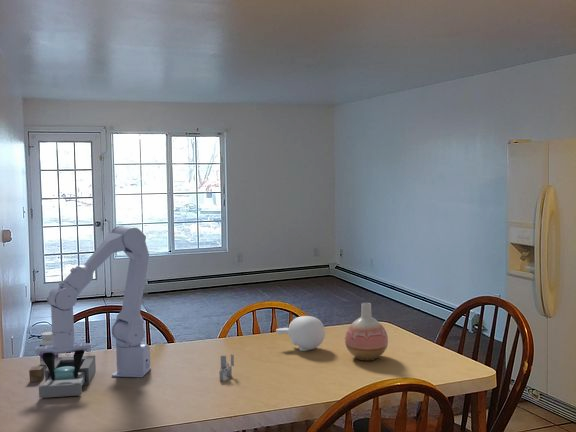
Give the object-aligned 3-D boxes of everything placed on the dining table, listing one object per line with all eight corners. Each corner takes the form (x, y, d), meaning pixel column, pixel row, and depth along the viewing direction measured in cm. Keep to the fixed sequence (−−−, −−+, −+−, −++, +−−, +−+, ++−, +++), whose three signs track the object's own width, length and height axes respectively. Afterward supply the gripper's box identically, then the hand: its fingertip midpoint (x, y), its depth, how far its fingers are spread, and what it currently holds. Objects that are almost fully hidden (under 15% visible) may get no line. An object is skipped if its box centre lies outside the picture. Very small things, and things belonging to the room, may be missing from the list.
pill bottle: (52, 366, 191) (50, 335, 190) (36, 365, 192) (35, 335, 191) (62, 361, 196) (60, 331, 196) (46, 360, 197) (45, 330, 197)
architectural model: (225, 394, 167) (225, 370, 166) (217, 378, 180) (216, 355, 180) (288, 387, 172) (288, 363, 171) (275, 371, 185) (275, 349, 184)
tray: (88, 380, 177) (88, 369, 177) (81, 395, 165) (80, 384, 165) (49, 382, 175) (49, 372, 175) (39, 397, 164) (38, 386, 163)
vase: (339, 361, 192) (339, 306, 191) (351, 349, 205) (351, 297, 203) (382, 366, 187) (382, 310, 185) (392, 353, 200) (392, 300, 198)
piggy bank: (329, 355, 204) (296, 349, 215) (333, 319, 206) (301, 315, 217) (304, 352, 196) (271, 346, 206) (309, 315, 198) (277, 311, 209)
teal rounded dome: (71, 379, 168) (71, 372, 168) (50, 379, 168) (50, 372, 168) (78, 372, 173) (78, 366, 173) (58, 372, 174) (58, 366, 173)
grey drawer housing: (95, 370, 186) (95, 355, 186) (89, 384, 174) (88, 368, 174) (55, 373, 184) (54, 357, 184) (45, 387, 173) (45, 370, 172)
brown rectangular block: (44, 377, 181) (43, 366, 180) (41, 381, 178) (40, 369, 177) (32, 378, 180) (32, 366, 180) (29, 382, 177) (29, 370, 177)
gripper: (91, 324, 175) (93, 371, 176) (37, 328, 172) (40, 375, 173) (89, 331, 168) (91, 379, 169) (33, 335, 165) (35, 384, 166)
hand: (65, 378), depth 171 cm, fingers closed on teal rounded dome, 5 cm apart
